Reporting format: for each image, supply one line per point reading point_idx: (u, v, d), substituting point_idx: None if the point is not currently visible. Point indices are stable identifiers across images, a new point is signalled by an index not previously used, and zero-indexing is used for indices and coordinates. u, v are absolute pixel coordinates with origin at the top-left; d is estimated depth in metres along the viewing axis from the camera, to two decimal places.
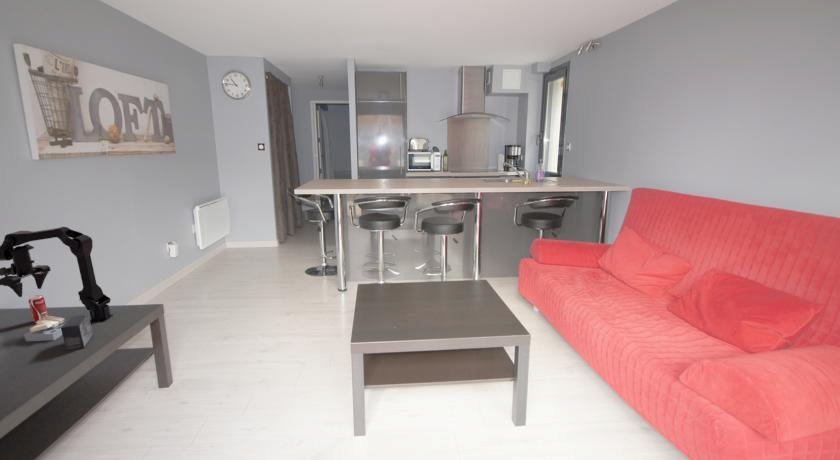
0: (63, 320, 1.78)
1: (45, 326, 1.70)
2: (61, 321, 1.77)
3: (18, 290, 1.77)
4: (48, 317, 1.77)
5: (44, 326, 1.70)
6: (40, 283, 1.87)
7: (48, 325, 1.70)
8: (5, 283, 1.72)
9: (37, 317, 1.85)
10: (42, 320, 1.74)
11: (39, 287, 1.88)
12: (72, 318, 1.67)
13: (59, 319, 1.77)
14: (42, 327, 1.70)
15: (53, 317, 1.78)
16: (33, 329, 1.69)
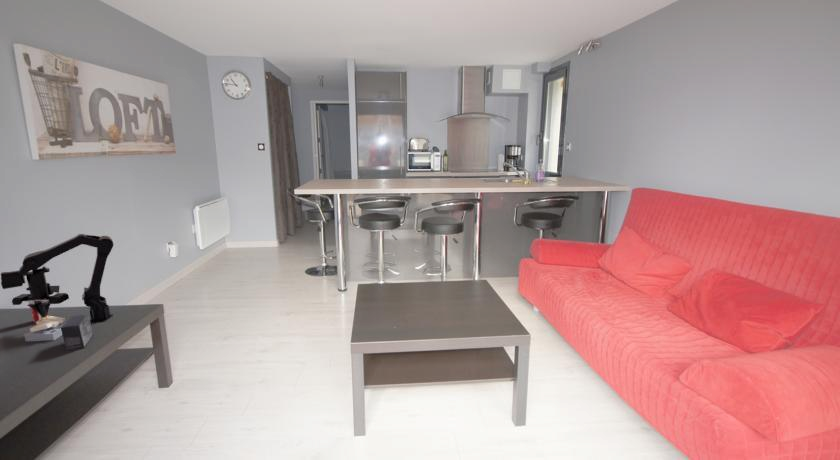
0: (63, 320, 1.78)
1: (45, 326, 1.70)
2: (61, 321, 1.77)
3: None
4: (48, 317, 1.77)
5: (44, 326, 1.70)
6: None
7: (48, 325, 1.70)
8: None
9: (37, 317, 1.85)
10: (42, 320, 1.74)
11: None
12: (72, 318, 1.67)
13: (59, 319, 1.77)
14: (42, 327, 1.70)
15: (53, 317, 1.78)
16: (33, 329, 1.69)
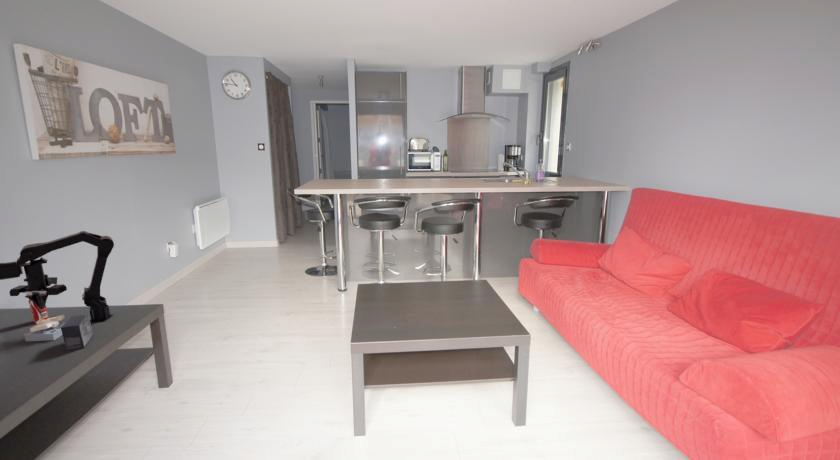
0: (62, 317, 1.78)
1: (45, 326, 1.70)
2: (60, 318, 1.77)
3: None
4: (47, 319, 1.77)
5: (44, 326, 1.70)
6: None
7: (48, 325, 1.70)
8: None
9: (37, 317, 1.85)
10: (42, 320, 1.74)
11: None
12: (72, 318, 1.67)
13: (58, 317, 1.77)
14: (42, 327, 1.70)
15: None
16: (33, 329, 1.69)
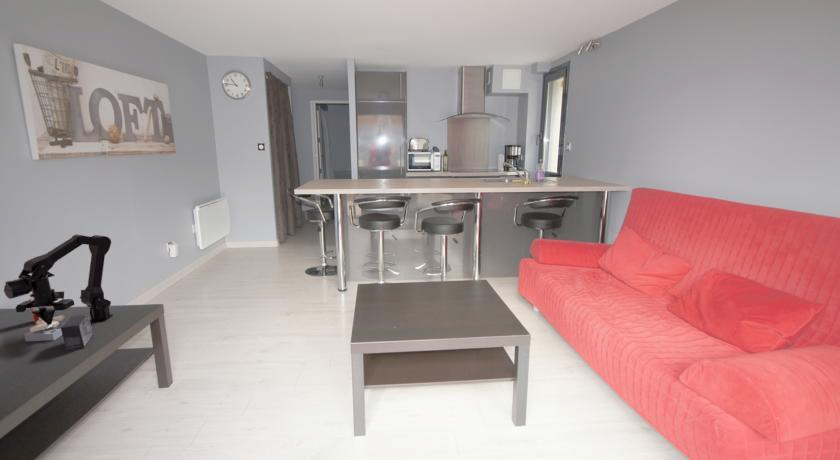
0: (62, 317, 1.78)
1: (45, 326, 1.70)
2: (60, 318, 1.77)
3: None
4: None
5: (44, 326, 1.70)
6: None
7: (48, 325, 1.70)
8: None
9: (37, 317, 1.85)
10: (42, 320, 1.74)
11: None
12: (72, 318, 1.67)
13: (58, 317, 1.77)
14: (42, 327, 1.70)
15: None
16: (33, 329, 1.69)
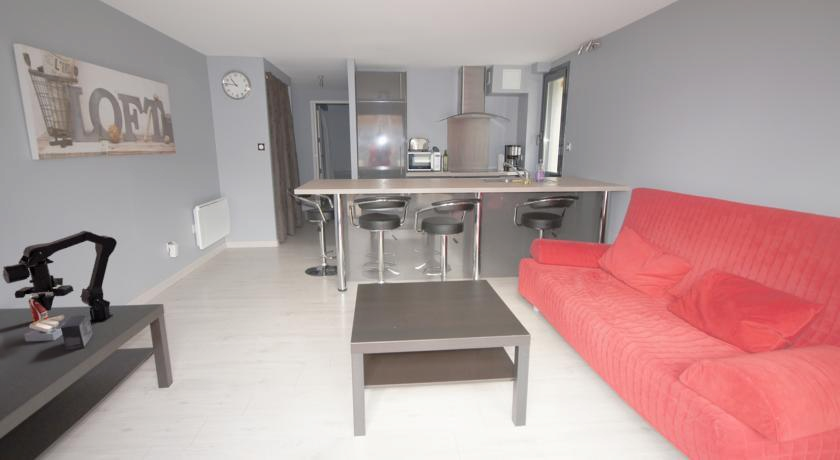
0: (62, 317, 1.78)
1: (46, 330, 1.70)
2: (60, 318, 1.77)
3: None
4: (47, 319, 1.77)
5: (45, 329, 1.70)
6: None
7: (49, 330, 1.71)
8: None
9: (37, 317, 1.85)
10: (42, 320, 1.74)
11: None
12: (72, 318, 1.67)
13: (58, 317, 1.77)
14: (42, 329, 1.70)
15: (52, 318, 1.78)
16: (33, 326, 1.69)
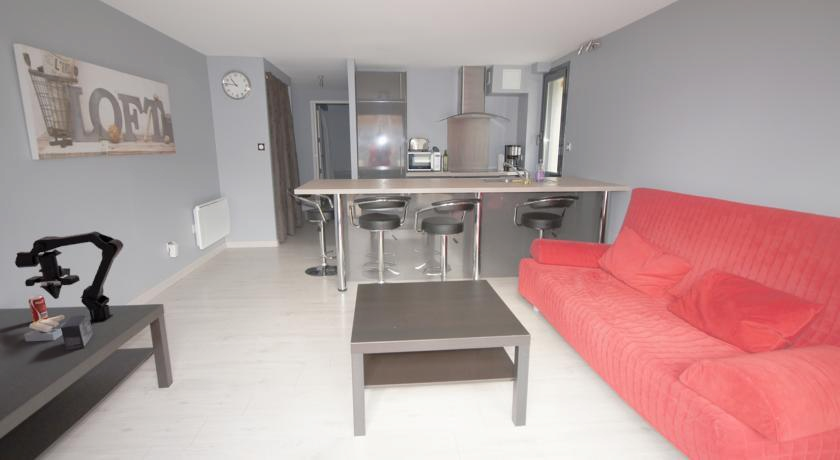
0: (62, 317, 1.78)
1: (46, 330, 1.70)
2: (60, 318, 1.77)
3: None
4: (47, 319, 1.77)
5: (45, 329, 1.70)
6: None
7: (49, 330, 1.71)
8: None
9: (37, 317, 1.85)
10: (42, 320, 1.74)
11: None
12: (72, 318, 1.67)
13: (58, 317, 1.77)
14: (42, 329, 1.70)
15: (52, 318, 1.78)
16: (33, 326, 1.69)
